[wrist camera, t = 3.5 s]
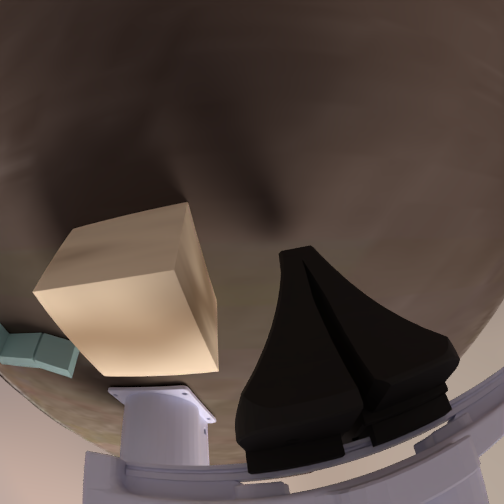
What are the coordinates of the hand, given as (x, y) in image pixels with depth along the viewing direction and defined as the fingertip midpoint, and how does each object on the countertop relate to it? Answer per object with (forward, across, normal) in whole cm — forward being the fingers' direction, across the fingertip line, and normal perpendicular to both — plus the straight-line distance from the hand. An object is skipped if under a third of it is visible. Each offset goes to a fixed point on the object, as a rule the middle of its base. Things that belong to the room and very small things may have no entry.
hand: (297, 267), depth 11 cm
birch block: (+2, +7, 0) cm, 7 cm away
